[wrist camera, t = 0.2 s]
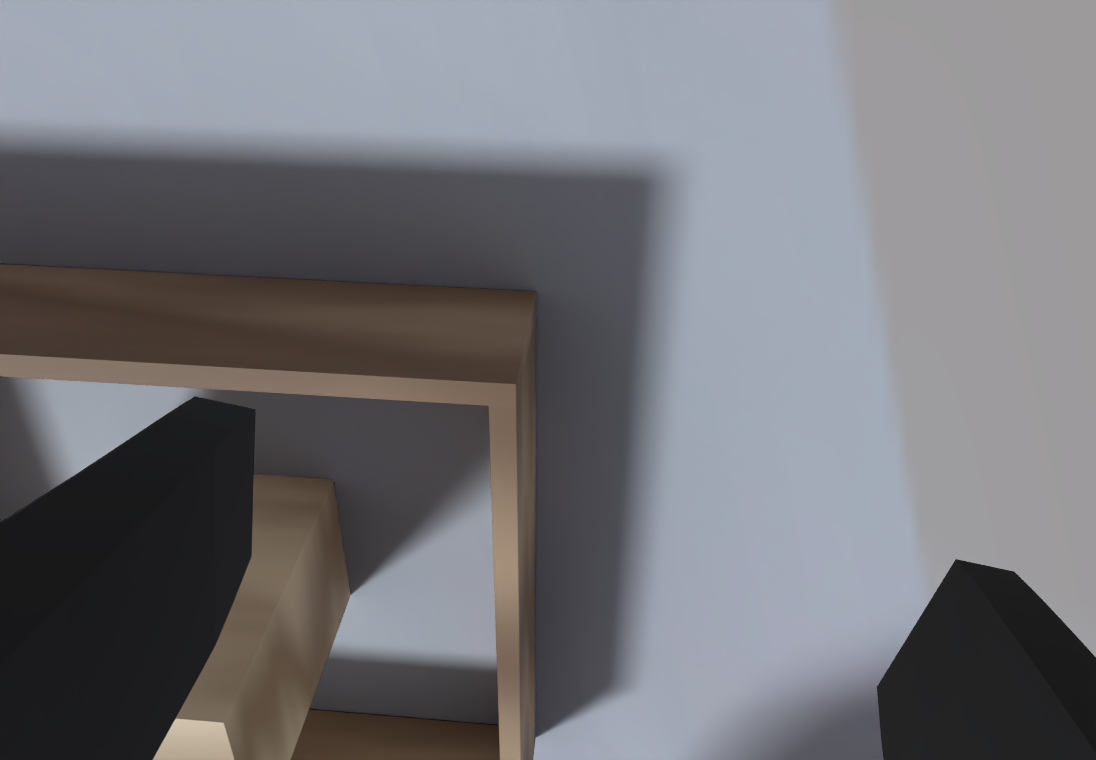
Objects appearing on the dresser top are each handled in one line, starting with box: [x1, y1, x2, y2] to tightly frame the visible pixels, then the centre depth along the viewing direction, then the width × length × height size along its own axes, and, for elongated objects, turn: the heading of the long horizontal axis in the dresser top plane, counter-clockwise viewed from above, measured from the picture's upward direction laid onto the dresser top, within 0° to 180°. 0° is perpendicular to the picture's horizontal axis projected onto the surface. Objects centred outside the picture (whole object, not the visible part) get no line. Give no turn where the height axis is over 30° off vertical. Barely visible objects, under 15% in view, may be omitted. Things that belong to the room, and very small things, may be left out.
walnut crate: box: [0, 264, 536, 760], centre depth 23 cm, size 15×15×4 cm
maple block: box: [153, 474, 351, 760], centre depth 21 cm, size 4×5×7 cm
